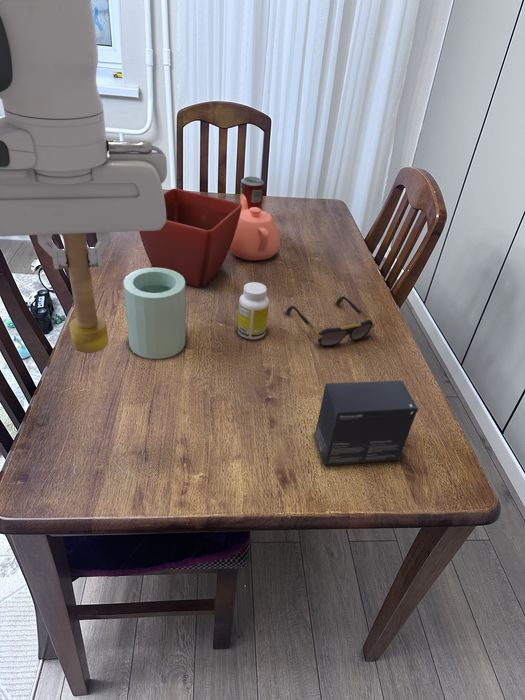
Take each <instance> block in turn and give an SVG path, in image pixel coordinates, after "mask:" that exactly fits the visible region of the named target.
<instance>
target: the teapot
mask: <svg viewBox="0 0 525 700" xmlns="http://www.w3.org/2000/svg"><path fill="white" fill-rule="evenodd" d="M240 198H241V205H242V209H241V213H240V217H239V221H238V225H237V228H236V232H235V235H234V238H233V241H232V243H231V246H230V249H229V252H230V253H232V254H233V255H234V256H235V257H237V258H240V259H242V260H246V261H264V260H267V259H271V258H272V257H273V256H275V255H276V254H277V253H278V252H279V250H280V248H281V237H280V231H279V228H278V227H277V224H276V222H275V220H274V218H273V216H272V215H271V214H270V213H269V212H266V211H265V210H261V209H260V208H257V207H252V208H250V209H249V210H248V204H247V199H246V197H245V196H244V195H243V194H241V195H239V199H240Z"/></svg>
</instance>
